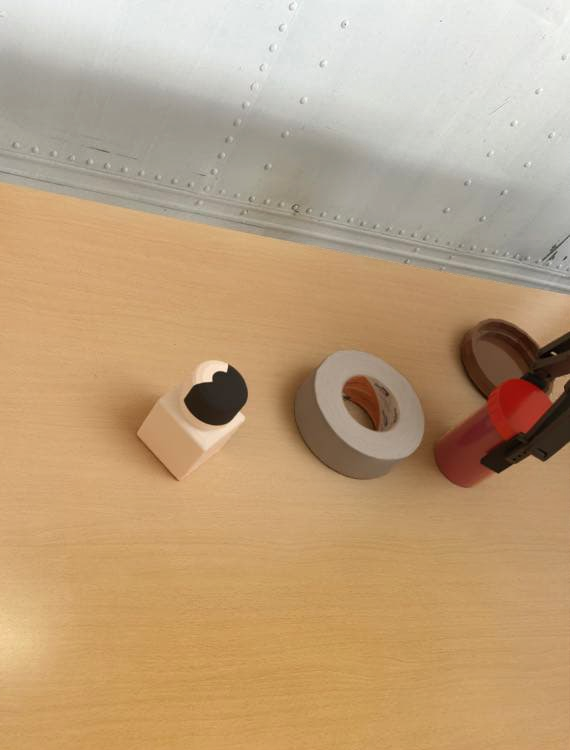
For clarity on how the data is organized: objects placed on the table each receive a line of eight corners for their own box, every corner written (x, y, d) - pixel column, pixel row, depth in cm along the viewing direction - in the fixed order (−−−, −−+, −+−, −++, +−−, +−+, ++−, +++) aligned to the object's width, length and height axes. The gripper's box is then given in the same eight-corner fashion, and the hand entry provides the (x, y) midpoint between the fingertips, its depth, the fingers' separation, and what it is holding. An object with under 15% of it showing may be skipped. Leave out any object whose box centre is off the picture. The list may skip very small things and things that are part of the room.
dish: (544, 363, 117) (558, 353, 115) (533, 430, 110) (547, 421, 108) (468, 313, 115) (480, 301, 113) (451, 377, 108) (464, 367, 106)
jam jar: (487, 454, 104) (555, 408, 95) (478, 498, 100) (547, 455, 91) (440, 424, 103) (503, 375, 94) (428, 467, 99) (493, 420, 90)
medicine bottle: (219, 450, 88) (269, 392, 78) (178, 482, 84) (226, 425, 74) (176, 404, 89) (221, 340, 78) (134, 434, 85) (175, 371, 75)
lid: (484, 432, 90) (495, 424, 88) (489, 374, 94) (500, 365, 93) (548, 465, 92) (560, 458, 90) (550, 407, 96) (562, 399, 95)
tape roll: (270, 400, 94) (291, 376, 90) (346, 355, 102) (368, 331, 98) (350, 500, 92) (375, 481, 88) (420, 447, 100) (447, 427, 96)
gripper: (687, 420, 72) (509, 520, 92) (684, 272, 83) (526, 389, 103) (624, 381, 71) (457, 490, 90) (629, 236, 82) (479, 361, 101)
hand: (494, 436), depth 96 cm, fingers closed on lid, 9 cm apart
